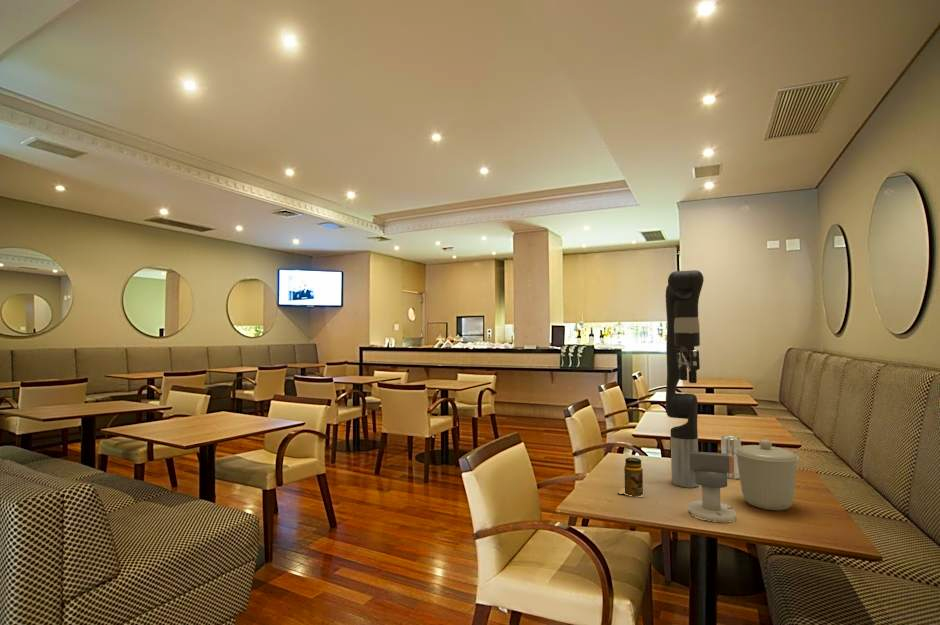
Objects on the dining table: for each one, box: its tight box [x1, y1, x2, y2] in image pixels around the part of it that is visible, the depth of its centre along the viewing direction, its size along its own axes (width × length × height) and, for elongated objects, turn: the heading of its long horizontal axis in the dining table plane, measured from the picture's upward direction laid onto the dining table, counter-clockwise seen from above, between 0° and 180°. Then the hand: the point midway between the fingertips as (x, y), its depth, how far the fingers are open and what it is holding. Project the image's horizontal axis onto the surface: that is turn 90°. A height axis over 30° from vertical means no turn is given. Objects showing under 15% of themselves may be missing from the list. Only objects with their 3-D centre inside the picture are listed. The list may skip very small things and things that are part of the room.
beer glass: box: [720, 435, 742, 480], centre depth 186 cm, size 7×7×15 cm
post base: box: [688, 486, 737, 523], centre depth 147 cm, size 13×13×9 cm
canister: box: [734, 438, 800, 511], centre depth 155 cm, size 18×18×21 cm
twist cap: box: [688, 451, 734, 489], centre depth 148 cm, size 12×9×9 cm
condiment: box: [623, 457, 646, 496], centre depth 167 cm, size 7×8×12 cm
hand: (688, 381), depth 155 cm, fingers open, 8 cm apart
